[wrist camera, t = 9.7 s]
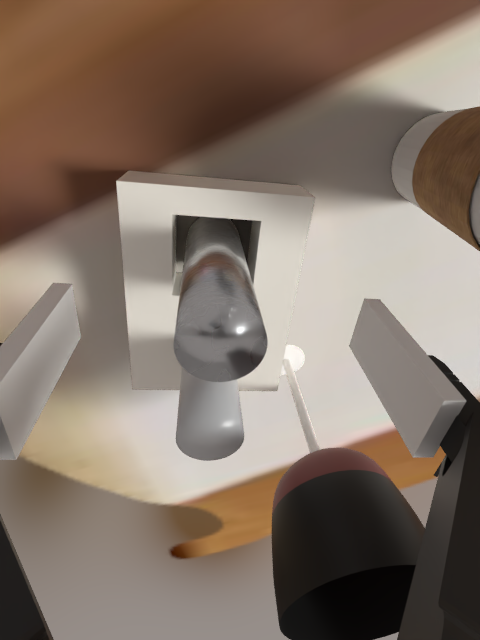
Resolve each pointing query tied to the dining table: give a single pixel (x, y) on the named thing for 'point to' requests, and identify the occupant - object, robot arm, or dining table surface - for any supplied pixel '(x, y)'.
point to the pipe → (217, 306)
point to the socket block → (164, 287)
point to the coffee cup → (443, 170)
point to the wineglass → (339, 540)
